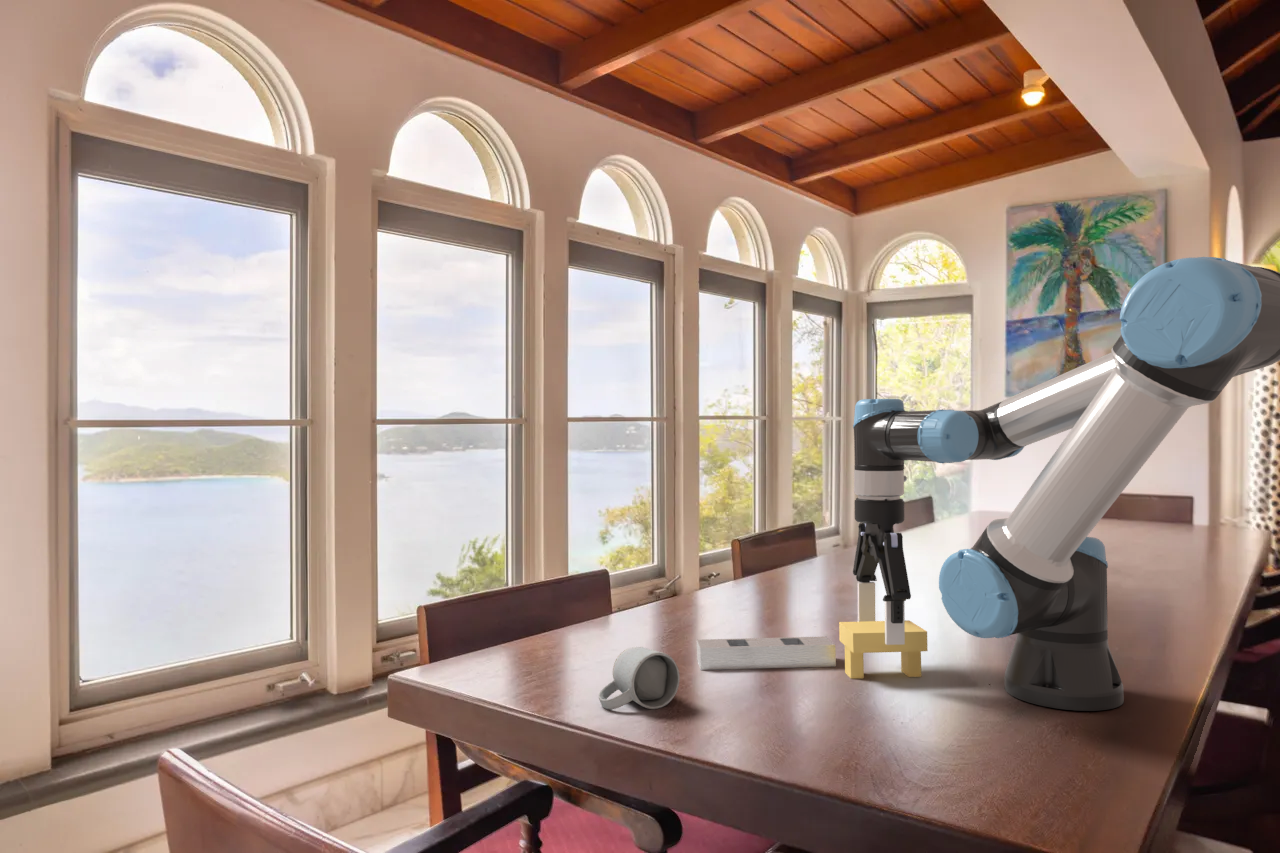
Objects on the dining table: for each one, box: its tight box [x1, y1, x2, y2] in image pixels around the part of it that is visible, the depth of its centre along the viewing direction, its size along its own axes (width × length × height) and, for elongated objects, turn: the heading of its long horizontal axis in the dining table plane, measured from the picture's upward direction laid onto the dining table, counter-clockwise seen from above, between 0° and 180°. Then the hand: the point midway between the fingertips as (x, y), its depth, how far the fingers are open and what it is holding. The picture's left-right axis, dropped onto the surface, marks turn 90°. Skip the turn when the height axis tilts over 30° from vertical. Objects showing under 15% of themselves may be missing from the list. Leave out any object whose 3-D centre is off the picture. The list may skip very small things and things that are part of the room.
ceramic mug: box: [598, 646, 681, 710], centre depth 118 cm, size 11×8×8 cm
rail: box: [696, 636, 837, 671], centre depth 137 cm, size 6×22×4 cm, turn 92°
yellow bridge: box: [838, 619, 928, 680], centre depth 130 cm, size 8×11×8 cm, turn 92°
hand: (879, 632), depth 130 cm, fingers open, 13 cm apart
